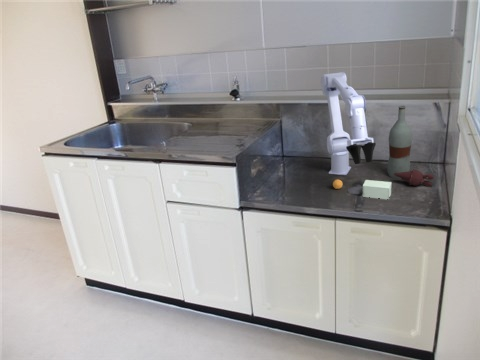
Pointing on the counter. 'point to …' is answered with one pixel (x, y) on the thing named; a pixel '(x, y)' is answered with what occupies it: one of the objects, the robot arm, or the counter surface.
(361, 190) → the spot
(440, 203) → the counter surface
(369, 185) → the pale green block
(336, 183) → the ball
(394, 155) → the bottle
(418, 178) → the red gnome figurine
